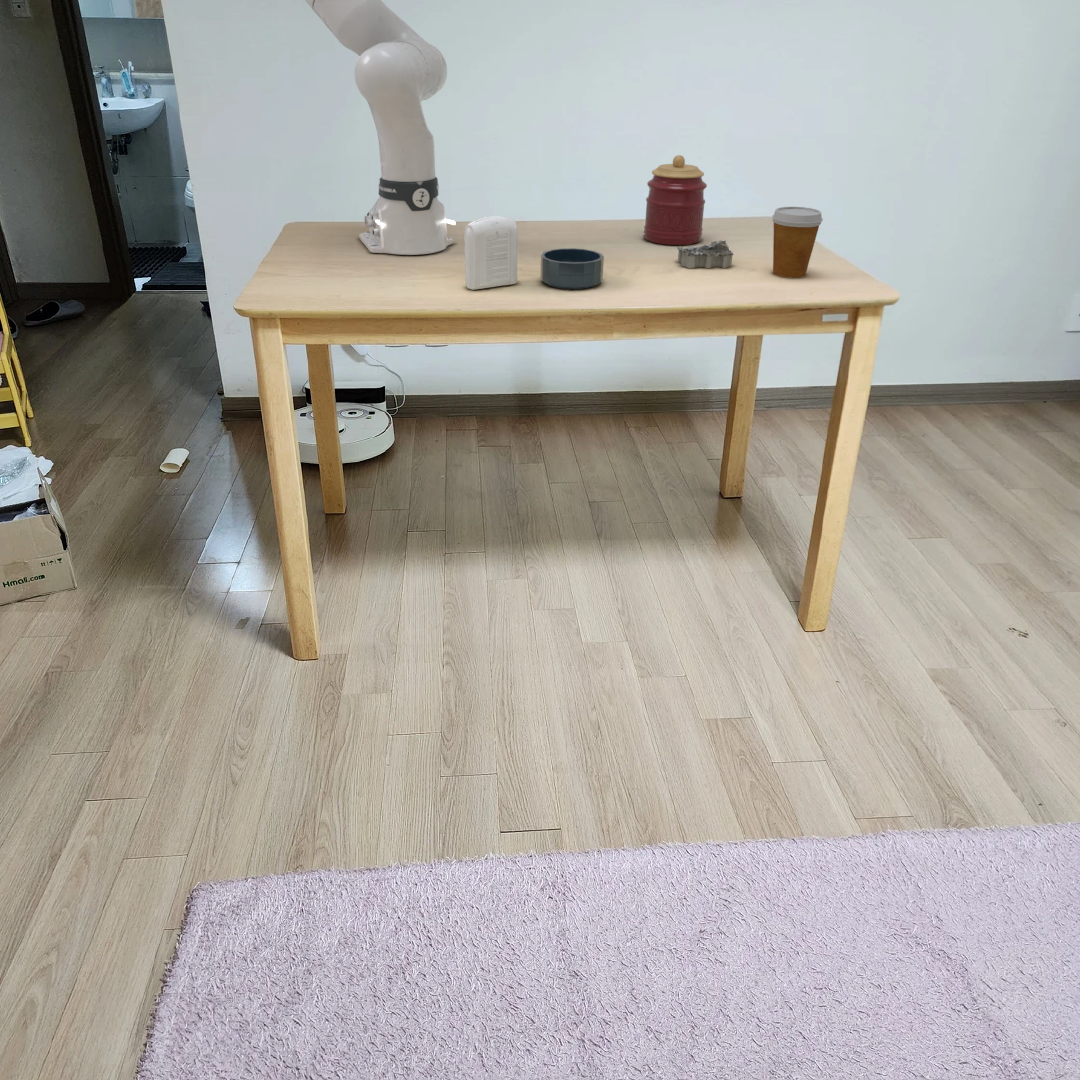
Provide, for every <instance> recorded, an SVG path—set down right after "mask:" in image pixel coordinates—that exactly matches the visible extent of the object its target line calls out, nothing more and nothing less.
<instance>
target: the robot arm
mask: <svg viewBox="0 0 1080 1080" xmlns="http://www.w3.org/2000/svg"><path fill="white" fill-rule="evenodd" d="M305 2H306V3H307V5H308V6H309V7H310V8H311V10H312V11H313V12H314V13H315V14H316V15H317V17H318V18H319V19H320V20H321V22H322V23H323V24H324V25H325V26H326V27H327V29H328V30H329V31H330V32H331V34H332V35H333V36H334V37H335V38H336V39H337V40H338V42H339V43H340V44H341V45H342V46H343V47H345V48H347V49H348V50H350V51H352V52H353V53H354V54H356V55H358V56H359V57H358V59H357V61H356V62H355V67H354V80H355V84H356V87H357V89H358V91H359V93H360V94H361V95H362V97H363V98H364V99H365V100H366V102H367V104H368V106H369V109H370V113H371V116H372V119H373V122H374V125H375V130H376V134H377V140H378V147H379V148H378V149H379V150H378V151H379V159H380V160H379V161H380V172H381V174H380V175H381V176H380V178H379V180H378V181H379V182H378V196H379V197H378V199H377V200H376V201H375V203H374V204H373V205H372V207H371V208H370V209H369V211H368V212H367V213H366V215H364V225H365V227H366V228H369V229H368V230H369V231H368V230H367V231H364V232H361V233H359V235H358V236H359V240H360V241H361V243H362V244H363V245H364V247H366V249H367V250H368V251H369V252H370V253H373V254H390V255H403V256H414V255H415V256H416V255H417V256H418V255H427V254H428V255H429V254H434V253H438V252H442V251H444V250H445V249H447V247H448V246H450V245H453V244H454V241H453V238H452V237H450V236H448V230H447V229H448V227H447V224H450V225H453V226H456V221H455V220H452V219H448V218H446V211H445V209H446V208H445V205H444V203H442V202H441V201H440V200H439V198H438V196H439V189H440V187H439V180H438V179H439V178H438V177H437V176H436V157H435V155H436V154H435V138H434V135H433V133H432V132H431V130H430V129H429V127H428V125H427V122H426V118H425V114H424V110H423V105H422V102H423V101H427V100H429V99H431V98H433V97H434V96H435V95H436V94H437V93H438V92H439V91H440V90H442V88H443V87H444V85H445V83H446V81H447V77H448V66H447V62H446V59H445V57H444V55H443V53H442V52H441V51H440V50H439V49H438V48H437V47H436V46H434V45H432V43H429V42H428V41H427V40H425V39H424V38H423V37H421V35H420V34H419V33H417V32H416V31H415V30H414V29H413V28H412V27H411V26H410V25H408V24H407V23H406V22H405V21H404V20H403V19H401V17H400V16H398V15H397V14H396V13H395V12H394V11H393V10H392V9H390V8H389V7H388V6H387V5H386V4H385V2H384V1H382V0H305Z"/></svg>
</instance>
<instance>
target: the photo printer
mask: <svg viewBox="0 0 1080 1080" xmlns="http://www.w3.org/2000/svg"><path fill="white" fill-rule="evenodd" d="M518 232H519V231H518V225H517V223H516V221H515V220H514V219H512V218H508V217H506V216H498V215H491V216H490V215H489V216H484V217H481V218H477V219H474V220H473V221H470V222H468V223H467V224H466V225H465V227H464V281H465V286H466V288H467V289H469V290H473V291H474V290H481V289H488V288H495V287H501V286H508V285H516V284H517V282H518V243H519V242H518V234H519V233H518Z"/></svg>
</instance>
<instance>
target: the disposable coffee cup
mask: <svg viewBox="0 0 1080 1080" xmlns="http://www.w3.org/2000/svg"><path fill="white" fill-rule="evenodd" d="M771 219H772V222H773V242H772V243H773V245H772V248H773V249H772V252H773V253H772V255H773V256H772V274H773V275H775V276H777V277H779V278H787V279H800V278H803V277H805V276H806V274H807V271H808V267H809V263H810V260H811V257H812V253H813V249H814V246H815V243H816V240H817V239H816V238H817V235H818V232H819V229H820V228H819V227H820V226H821V224H822V222H823V220H824V219H823V218H822V211H821V210H819V209H815V208H811V207H805V206H781V207H777V208H776V209H775V210H774V213H773V215H771Z"/></svg>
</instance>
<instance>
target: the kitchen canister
mask: <svg viewBox="0 0 1080 1080" xmlns="http://www.w3.org/2000/svg"><path fill="white" fill-rule="evenodd" d="M685 163H686V159H685V157H684V156H683V155H681V154H677V155H675V156H674V157H673V158H672V163H664V164H660V165H658V166H657V167H656V168H655V169H653V170H652V171H651V174H652V175H653V176H652V178H651V179H650V180H648V181H647V182H646V183H647V187H648V188H649V189H648V195H647V196H646V198H645V201H646V208H645V220H644V221H645V224H644V226H643V228H644V229H643V233H644V239H645V240H647V241H648V242H651V243H654V244H661V245H668V246H684V245H687V246H688V245H693V244H697V243H699V242H700V241H701V238H702V235H703V220H704V210H705V204H706V199H705V197H704V196H705V195H704V194H705V189H706V188H707V187H708V186H707V185H708V184H707V183H706V182H705V181H704V180H703V177H704V175H705V173H704V172H703V171H702V170H701V169H700V168H699V167H698V166H697V165H693V164H685Z"/></svg>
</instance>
